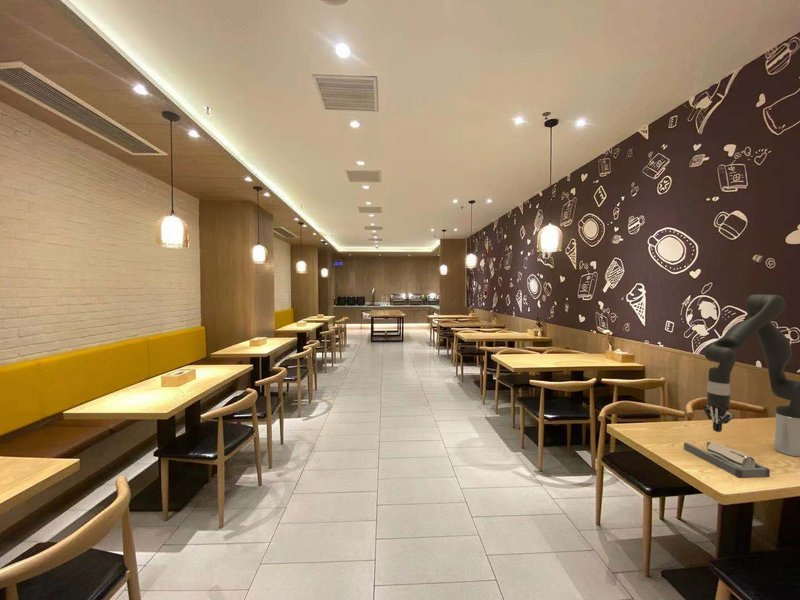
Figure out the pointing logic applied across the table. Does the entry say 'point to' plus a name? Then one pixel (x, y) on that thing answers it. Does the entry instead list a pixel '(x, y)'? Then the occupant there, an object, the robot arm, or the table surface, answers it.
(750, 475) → the u rest
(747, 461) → the beer glass
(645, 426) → the table surface
